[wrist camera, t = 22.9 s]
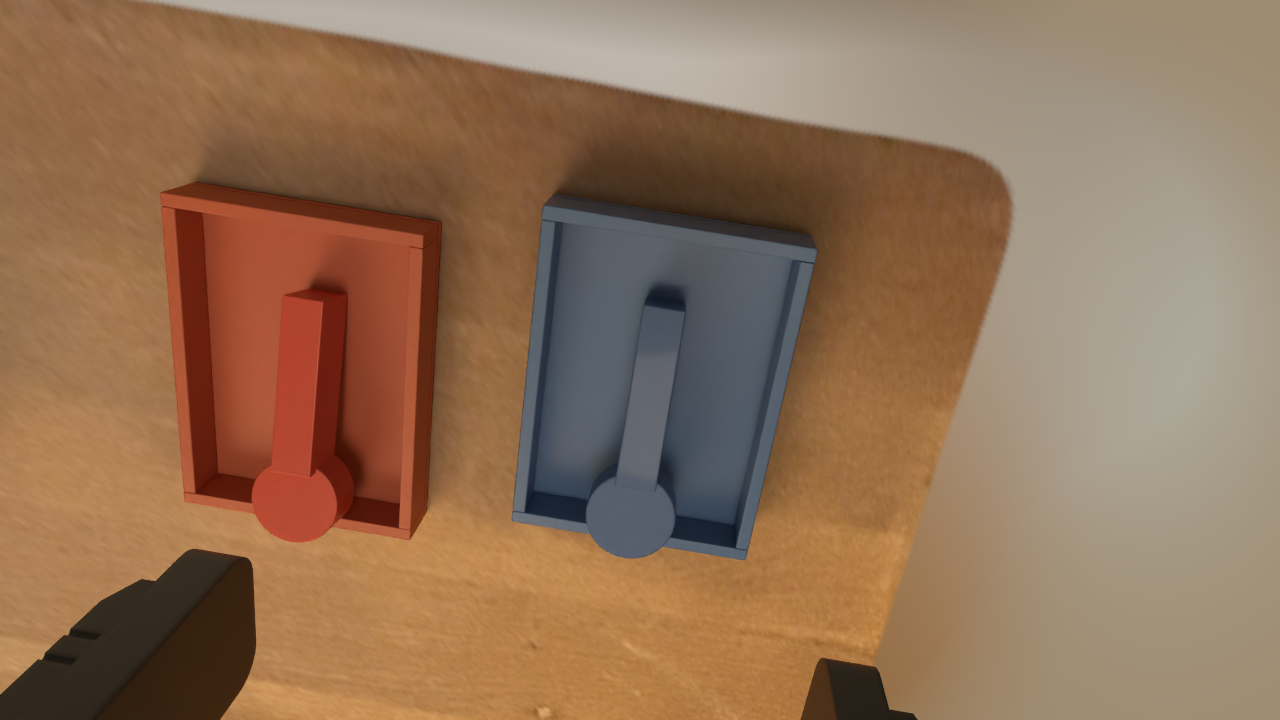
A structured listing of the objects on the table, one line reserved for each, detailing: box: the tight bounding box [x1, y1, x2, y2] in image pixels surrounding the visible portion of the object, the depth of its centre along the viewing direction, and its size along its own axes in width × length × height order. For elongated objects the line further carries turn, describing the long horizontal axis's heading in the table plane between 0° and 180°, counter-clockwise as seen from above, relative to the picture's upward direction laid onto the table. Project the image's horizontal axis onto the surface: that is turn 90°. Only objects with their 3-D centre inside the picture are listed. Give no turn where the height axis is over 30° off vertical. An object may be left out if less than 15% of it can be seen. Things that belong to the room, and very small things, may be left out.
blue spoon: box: [586, 297, 686, 558], centre depth 36 cm, size 12×4×3 cm, turn 172°
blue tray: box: [512, 194, 818, 560], centre depth 37 cm, size 15×11×2 cm
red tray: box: [160, 182, 442, 540], centre depth 38 cm, size 15×11×2 cm
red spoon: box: [252, 288, 354, 542], centre depth 37 cm, size 12×4×3 cm, turn 172°
